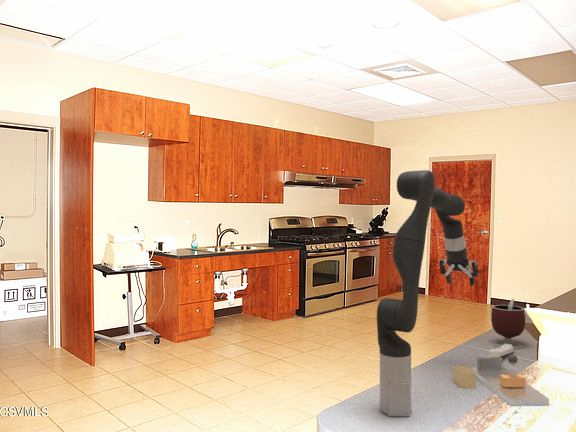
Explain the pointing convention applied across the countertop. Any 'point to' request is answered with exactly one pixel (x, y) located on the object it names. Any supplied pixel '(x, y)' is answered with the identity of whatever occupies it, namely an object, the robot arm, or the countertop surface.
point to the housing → (463, 376)
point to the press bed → (490, 376)
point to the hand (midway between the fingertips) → (460, 284)
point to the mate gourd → (508, 323)
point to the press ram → (512, 375)
